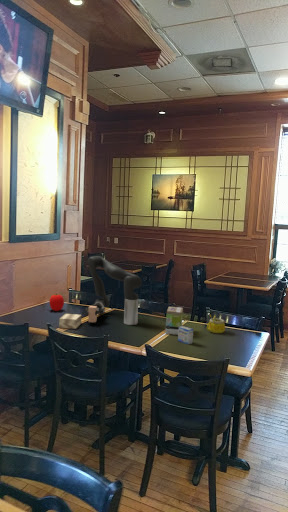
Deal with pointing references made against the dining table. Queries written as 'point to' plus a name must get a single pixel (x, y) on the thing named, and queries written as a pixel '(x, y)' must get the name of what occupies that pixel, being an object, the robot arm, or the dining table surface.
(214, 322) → the yellow teapot
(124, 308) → the robot arm
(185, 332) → the medicine box
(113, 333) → the dining table surface
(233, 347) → the dining table surface
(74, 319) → the birch block
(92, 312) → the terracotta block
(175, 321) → the tea box
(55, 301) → the red apple
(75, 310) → the dining table surface
